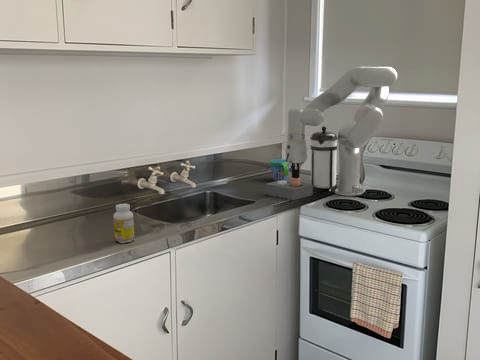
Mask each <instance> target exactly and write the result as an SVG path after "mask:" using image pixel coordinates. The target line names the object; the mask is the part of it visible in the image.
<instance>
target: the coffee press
mask: <svg viewBox="0 0 480 360" xmlns="http://www.w3.org/2000/svg"><path fill="white" fill-rule="evenodd" d="M337 144H338V135H337V133H335V132H332V131H327V127H326V126H322V127H321V131H315V132H313V133H312V134H311V136H310V148H309V149H310V184H312V185H313V187H312V192H313V191H314V190H315V189H316V188H317V189H328V191H329V192H330V193H331V192H334V188H336V189H337V188H338V185H337V152H338V151H337V150H338V145H337Z"/></svg>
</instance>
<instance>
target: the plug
mask: <svg viewBox="0 0 480 360" xmlns="http://www.w3.org/2000/svg"><path fill="white" fill-rule="evenodd" d="M277 184H282V185H283V184H287V181H278V182H277Z"/></svg>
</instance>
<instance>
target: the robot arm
mask: <svg viewBox="0 0 480 360" xmlns="http://www.w3.org/2000/svg"><path fill="white" fill-rule="evenodd" d="M397 79H398V73H397V71H396V70H395V69H394V68H393V67H390V66H352V67H351V68H350V69H348V70H347V71H346V72H345V73H344V74H343V75H342V76H341V77H339V78H338V79H337V80H336V81H335V82H334V83H333V84H332V85H331V86H330V87H329V88H327V89H325V90H324V91H323V92H322V93H320V94H319V95H318V96H316V97H315V98H314V99H313V100H312V101H310V102H309V104H308V105H306V106H305V107H304V109H302V108H291V109H289V110H288V112H287V136H286V137H287V141H286V146H285V160H286V162H287V166H289V168H290V170H291V177H292V178H299V177H300V170H301V166H302V165H304V164H305V162H307V160H308V148H307V146H308V145H307V141H306V139H305V137H306V136H305V133H306V131H305V130H306V129H305V128H306V126H311V127H317V126H320V125H321V124H322V123H323V122H324V119H325V116H324V112H325V111H327V110H328V109H330V108H331V107H335V106H337V105H340V104H341V103H343V102H345V100H347V98H349V97H350V95H352V94H353V93H354V92H355V91H356V90H357V89H359V87H361V88H363V87H365V88H368V87H369V88H370V90H369V93H368V94H367V96H366V97H365V99H364V100H363V101H362V103H361V104H360V105H359V106H358V108H357V109H356V110H355V112H354V114H353V119H354V122H355V124H352V123H351V124H349V123H348V124H345V125H343V126H342V127H340V129H339V130H338V131H337V132H338V133H337V137H338V139H337V144H338V145H337V146H338V176H337V177H338V179H337V180H338V181H337V182H338V183H337V184H338V185H337V188H336V189H335V190H334V193H335V194H336V195H338V196H339V195H340V196H347V197H354V196H355V197H356V196H361V195H362V194H363V193H365V192H366V190H367V187H362V183H360V175H361V174H360V173H361V172H360V170H361V150H360V149H361V148H363V147H365V145H367V144H368V143H369V141H370V140H372V137H374V135H375V133H376V132H377V131H378V130H379V128H380V127H381V125H382V123H383V120H384V113H383V111H382V109H383V107H384V106H385V104H386V103H387V101H388V99H389V93H390V91H389V88H390V87H391V86H393V85H395V83H396V82H397Z"/></svg>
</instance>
